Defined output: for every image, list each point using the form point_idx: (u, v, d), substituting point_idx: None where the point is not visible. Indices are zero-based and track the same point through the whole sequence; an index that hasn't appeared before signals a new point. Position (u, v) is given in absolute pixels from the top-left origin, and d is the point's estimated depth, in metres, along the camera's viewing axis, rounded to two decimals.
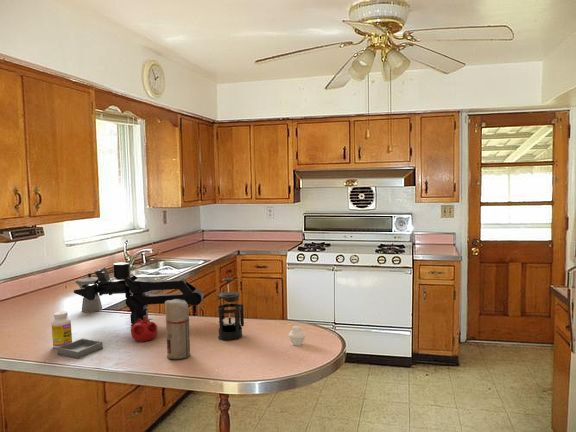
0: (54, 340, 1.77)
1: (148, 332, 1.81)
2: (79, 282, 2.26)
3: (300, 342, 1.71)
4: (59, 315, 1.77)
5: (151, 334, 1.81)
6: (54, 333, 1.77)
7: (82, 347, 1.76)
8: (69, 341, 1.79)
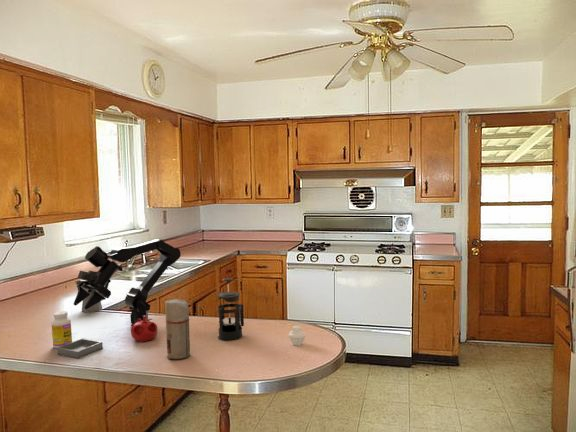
0: (54, 340, 1.77)
1: (148, 332, 1.81)
2: None
3: (300, 342, 1.71)
4: (59, 315, 1.77)
5: (151, 334, 1.81)
6: (54, 333, 1.77)
7: (82, 347, 1.76)
8: (69, 341, 1.79)
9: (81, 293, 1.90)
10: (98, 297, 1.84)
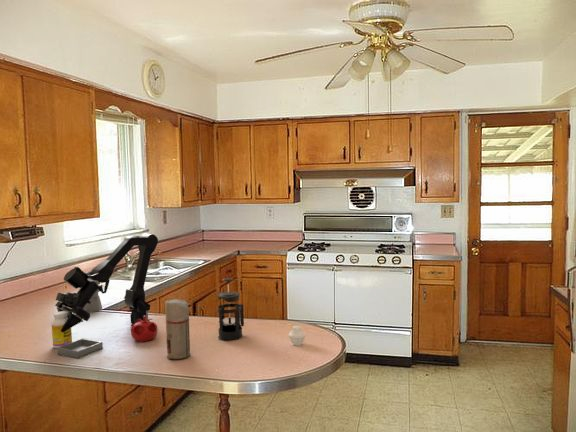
0: (54, 340, 1.77)
1: (148, 332, 1.81)
2: None
3: (300, 342, 1.71)
4: (59, 315, 1.77)
5: (151, 334, 1.81)
6: (54, 333, 1.77)
7: (82, 347, 1.76)
8: (69, 341, 1.79)
9: None
10: (75, 319, 1.79)
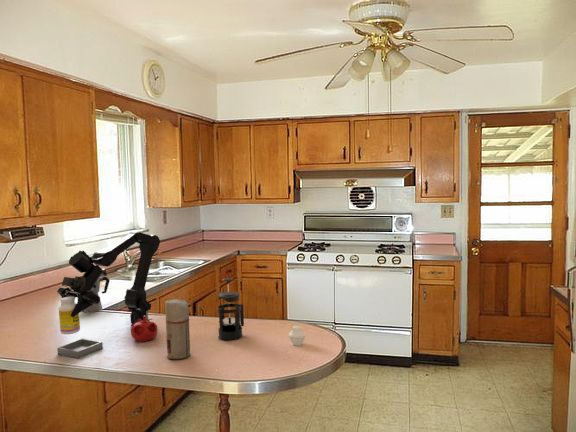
0: (63, 326, 1.72)
1: (148, 332, 1.81)
2: None
3: (300, 342, 1.71)
4: (67, 300, 1.73)
5: (151, 334, 1.81)
6: (63, 319, 1.72)
7: (82, 347, 1.76)
8: (78, 326, 1.75)
9: None
10: (85, 303, 1.75)
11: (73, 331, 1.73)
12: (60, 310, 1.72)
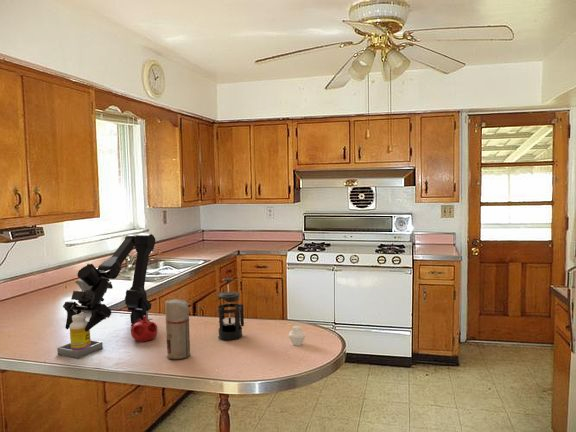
0: (75, 344, 1.70)
1: (148, 332, 1.81)
2: (79, 282, 2.26)
3: (300, 342, 1.71)
4: (80, 317, 1.71)
5: (151, 334, 1.81)
6: (75, 337, 1.70)
7: None
8: (89, 344, 1.73)
9: (71, 315, 1.76)
10: (98, 317, 1.74)
11: None
12: (72, 328, 1.70)
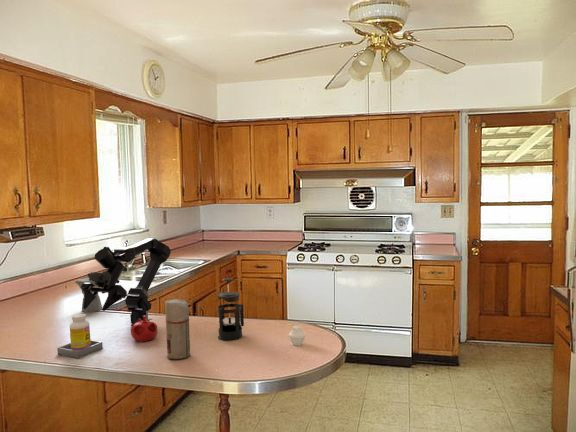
0: (75, 344, 1.70)
1: (148, 332, 1.81)
2: (79, 282, 2.26)
3: (300, 342, 1.71)
4: (80, 317, 1.71)
5: (151, 334, 1.81)
6: (75, 337, 1.70)
7: None
8: (89, 344, 1.73)
9: (89, 296, 1.84)
10: (114, 298, 1.81)
11: None
12: (72, 328, 1.70)
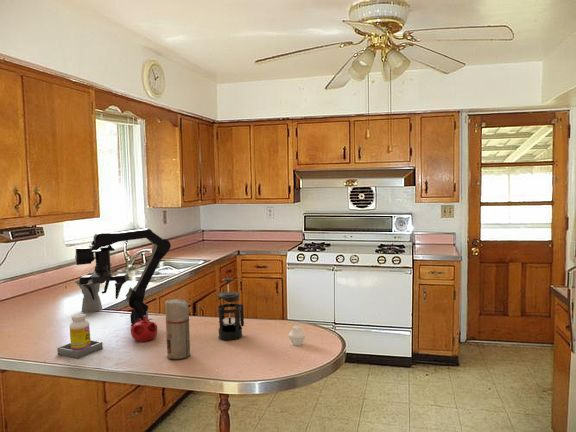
0: (75, 344, 1.70)
1: (148, 332, 1.81)
2: None
3: (300, 342, 1.71)
4: (80, 317, 1.71)
5: (151, 334, 1.81)
6: (75, 337, 1.70)
7: None
8: (89, 344, 1.73)
9: (92, 288, 1.96)
10: None
11: None
12: (72, 328, 1.70)
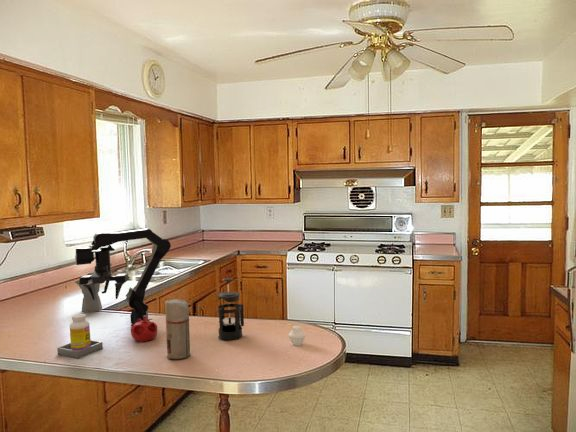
0: (75, 344, 1.70)
1: (148, 332, 1.81)
2: None
3: (300, 342, 1.71)
4: (80, 317, 1.71)
5: (151, 334, 1.81)
6: (75, 337, 1.70)
7: None
8: (89, 344, 1.73)
9: (92, 288, 1.96)
10: None
11: None
12: (72, 328, 1.70)
